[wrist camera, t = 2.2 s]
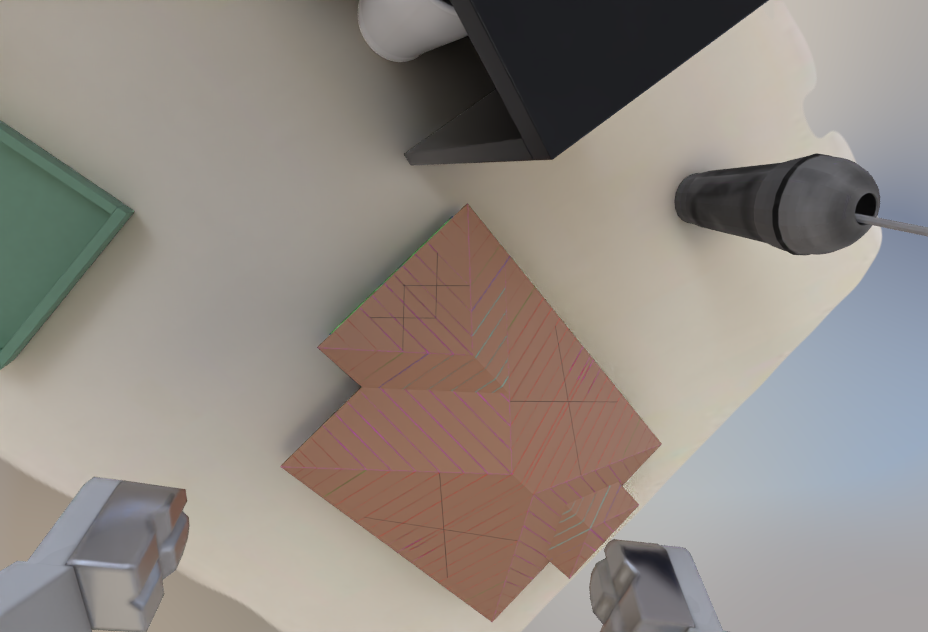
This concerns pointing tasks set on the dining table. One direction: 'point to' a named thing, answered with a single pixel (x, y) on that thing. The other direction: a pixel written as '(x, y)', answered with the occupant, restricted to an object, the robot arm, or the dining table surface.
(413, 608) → the dining table surface
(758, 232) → the beverage cup
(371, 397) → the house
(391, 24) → the drinking glass
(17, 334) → the tray
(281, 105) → the dining table surface
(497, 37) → the black coffee maker
